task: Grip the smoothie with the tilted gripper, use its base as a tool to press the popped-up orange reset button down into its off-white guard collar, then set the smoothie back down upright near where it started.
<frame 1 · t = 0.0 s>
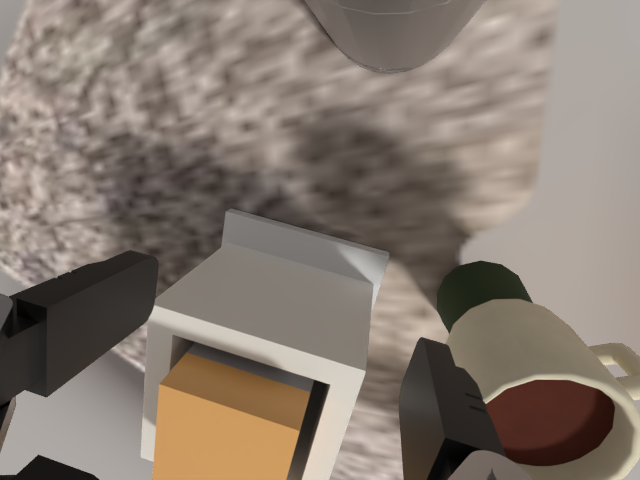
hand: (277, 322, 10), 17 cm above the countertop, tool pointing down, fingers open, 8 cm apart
character mug: (477, 294, 27), on the countertop
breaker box: (288, 319, 31), on the countertop
reset button: (246, 403, 22), point 10 cm above the countertop, slide at 0.0 cm
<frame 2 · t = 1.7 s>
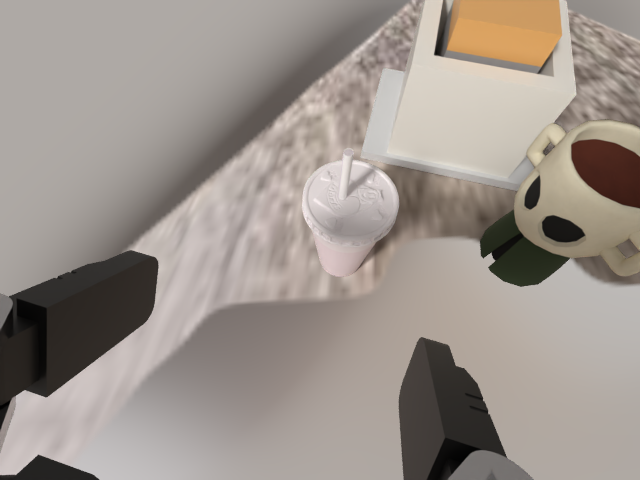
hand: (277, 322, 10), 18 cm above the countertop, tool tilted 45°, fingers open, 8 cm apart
smoothie: (340, 258, 32), on the countertop
character mug: (511, 256, 32), on the countertop
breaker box: (448, 128, 39), on the countertop
reset button: (487, 44, 30), point 10 cm above the countertop, slide at 0.0 cm
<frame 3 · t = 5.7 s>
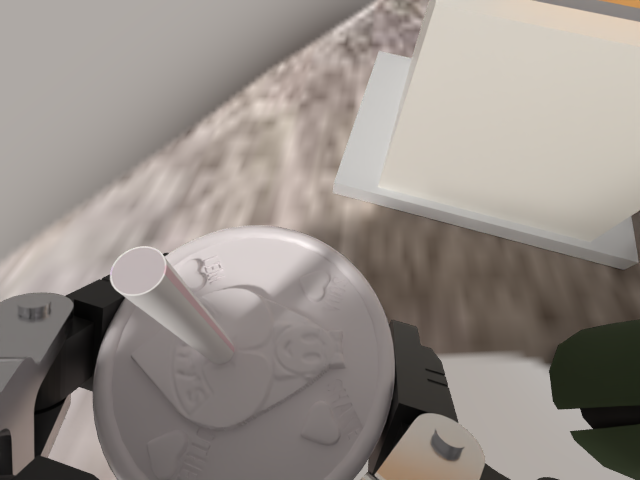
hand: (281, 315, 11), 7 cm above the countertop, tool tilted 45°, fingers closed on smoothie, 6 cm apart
smoothie: (277, 392, 16), on the countertop, touching gripper
character mug: (606, 399, 17), on the countertop
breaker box: (480, 149, 24), on the countertop
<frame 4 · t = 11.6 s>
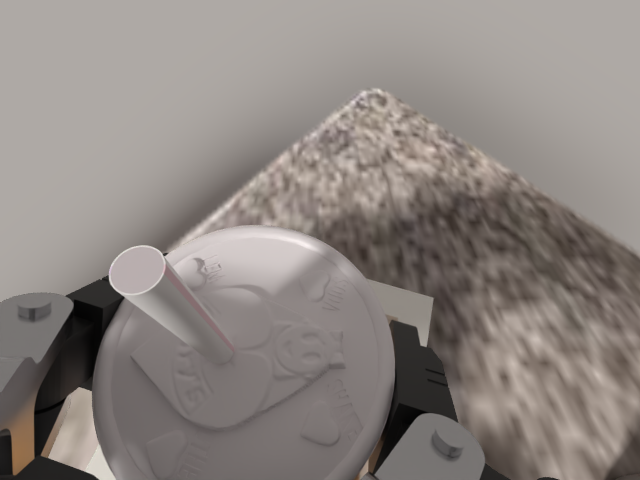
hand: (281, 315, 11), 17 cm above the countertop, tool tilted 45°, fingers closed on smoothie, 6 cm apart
smoothie: (277, 392, 16), point 10 cm above the countertop, touching gripper, reset button
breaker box: (287, 402, 25), on the countertop
when the fingers open (8 cm above the countertop, at t = 18.4 s): smoothie drops 1 cm, on the countertop.
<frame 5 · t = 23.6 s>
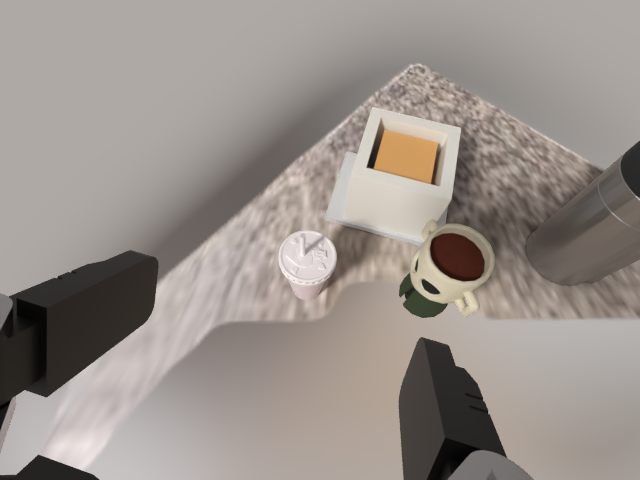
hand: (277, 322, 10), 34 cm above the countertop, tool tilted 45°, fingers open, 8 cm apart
smoothie: (306, 287, 47), on the countertop
character mug: (421, 296, 47), on the countertop
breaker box: (389, 200, 54), on the countertop
reset button: (399, 174, 48), point 6 cm above the countertop, slide at -3.6 cm
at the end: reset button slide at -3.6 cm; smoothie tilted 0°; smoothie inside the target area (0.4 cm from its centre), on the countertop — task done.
